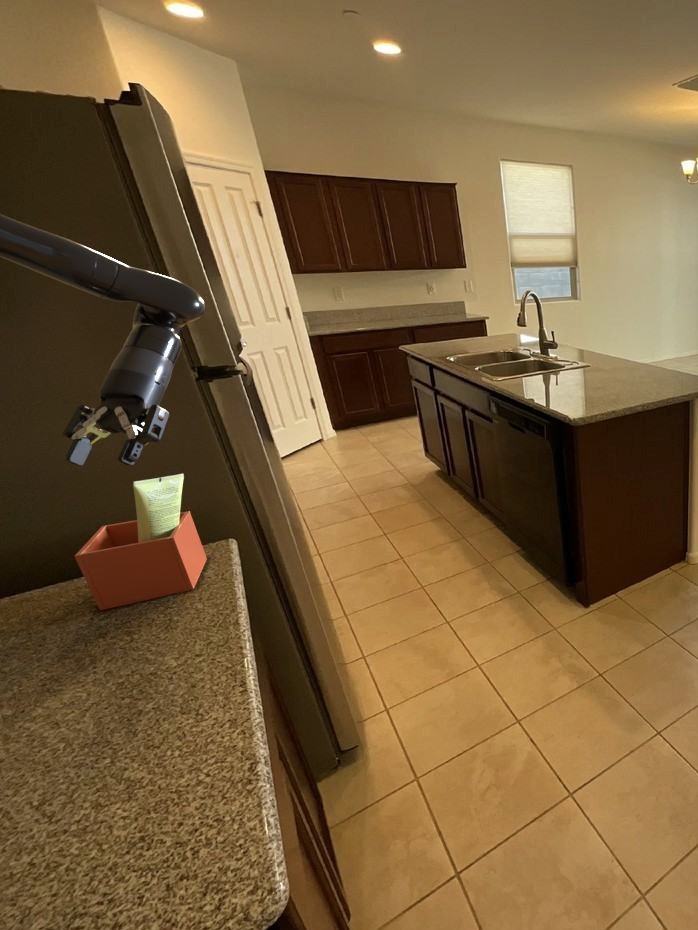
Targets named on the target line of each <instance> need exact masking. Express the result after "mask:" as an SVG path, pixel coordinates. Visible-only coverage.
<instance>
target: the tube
mask: <svg viewBox="0 0 698 930" xmlns="http://www.w3.org/2000/svg"><path fill="white" fill-rule="evenodd" d="M184 479H185V475H184V473H178V474H174V475H167V476H161V477H157V478H156V477H155V478H150V479H143V480H136V481H133V482H132V488H133V493H134V500H135V510H136V520H137V526H138V543H140V542H145V541H151V540H156V539H161V538H167V537H170V535H171V534H172V532H173V531H174V529H175V527H176V526H177V525H179V518H180V513H181V507H182V495H183V486H184V485H183V484H184Z"/></svg>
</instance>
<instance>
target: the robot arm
mask: <svg viewBox="0 0 698 930" xmlns="http://www.w3.org/2000/svg"><path fill="white" fill-rule="evenodd" d="M0 258H2V259H4V260H7V261H9V262H12V263H15V264H17V265H20V266H21V267H24V268H26V269H29V270H31V271H34V272H36V273H38V274H41V275H43V276H46V277H48V278H50V279H53V280H55V281H57V282H60V283H62V284H64V285H68V286H69V287H73V288H75V289H77V290H80V291H82V292H85V293H87V294H90V295H92V296H95V297H98V298H100V299H102V300H105V301H108V302H112V303H115V304H124V303H137V305H136V308H135V310H134V316H133V321H132V329H131V330H130V332H129V334H128V336H127V338H126V340H125V342H124V344H123V346H122V348H121V349H120V351H119V353H118V354H117V355H116V356H115V358H114V360H113V362H112V364H111V366H110V368H109V370H108V372H107V373H106V375H105V378H104V379H103V382H102V384H101V385H100V388H99V389H98V395H99V397H100V400H101V402H100V403H99V404H98V405H97V406H96V407H95V408H94V407H88V406H86V405H84V404H79V405H78V406H77V407H76V409H75V411H74V413H73V415H72V417H71V418H70V420H69V421H68V423H67V425H66V427H65V428H64V430H63V432H62V436H63V437H65V438H67V439H70V440H72V443H71V445H70V447H69V448H68V451H67V452H66V454H65V461H66V462H67V463H69V464H71V465H74V466H83V465H85V462H86V460H87V458H88V456H89V454H90V452H91V450H92V448H93V444H95V443H96V442H98V441H99V440H100V439H105V438H108V437H109V436H110V435H111V434H120V433H123V434H126V435H127V438H128V439H125V441H124V443H123V445H122V448H121V451H120V452H119V454H118V457H117V462H119V463H122V464H123V465H125V466H135V464H136V462H137V461H138V460H139V458H140V456H141V453H142V452H143V449H144V447H145V446H147V445H149V444H150V443H151V442H153V443H159V442H160V441H161V439H162V437H163V435H164V431H165V428H166V426H167V422H168V420H169V417H170V412H169V411H168V410H166V409H165V408H163V407H162V406H160V405H161V401H162V399H163V397H164V394H165V392H166V390H167V388H168V385H169V383H170V381H171V378H172V374H173V369H174V366H175V364H176V363H177V360H178V358H179V355H180V353H181V351H182V340H181V338H180V336H179V333H180V331H182V329H183V327H185V326H186V325H188V324H190V323H192V322H194V321H197V320H198V319H200V318H201V317H202V316H203V315H204V313H205V311H206V304H205V301H204V299H203V297H202V295H201V294H199V293H198V291H196V290H195V289H194V288H192V287H191V286H190V285H188V284H186V283H184V282H182V281H180V280H177V279H175V278H172V277H169V276H166V275H162V274H159V273H155V272H152V271H150V270H146V269H142V268H137V267H133V266H130V265H127V264H125V263H123V262H121V261H118V260H116V259H114V258H112V257H111V256H108V255H106V254H103V253H101V252H99V251H97V250H95V249H92V248H90V247H88V246H85V245H84V244H81V243H78V242H76V241H74V240H71V239H69V238H66V237H62V236H60V235H58V234H55V233H52V232H49V231H46V230H45V229H44V230H43V229H41V228H37V227H35V226H32V225H30V224H27V223H24V222H22V221H18V220H17V219H14V218H11V217H8V216H6V215H4V214H1V213H0ZM95 425H97V426H98V427H99V428H98V427H96V426H95ZM77 428H79V429H78V430H77ZM76 430H77V431H76ZM152 431H153V432H152ZM90 433H92V434H91V435H90V436H88V434H90ZM87 436H88V437H87Z"/></svg>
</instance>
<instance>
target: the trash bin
mask: <svg viewBox="0 0 698 930" xmlns="http://www.w3.org/2000/svg"><path fill="white" fill-rule="evenodd" d="M74 558H75V561H76V563H77V565H78V567H79V569H80V571H81V573H82V576H83V578H84V580H85V581H86V584H87V586H88V588H89V590H90V593H91V595H92V597H93V599H94V601H95V603H96V606H97V607H98V610H99V611H103V610H108V609H113V608H116V607H121V606H125V605H131V604H134V603H139V602H143V601H148V600H152V599H157V598H161V597H166V596H170V595H174V594H179V593H183V592H188V591H192V590H194V589H195V587H196V585H197V582H198V580H199V578H200V576H201V573H202V571H203V569H204V567H205V565H206V562H207V560H208V558H207V555H206V553H205V549H204V546H203V543H202V541H201V539H200V536H199V533H198V531H197V528H196V525H195V522H194V519H193V517H192V514H191V511H190V510H188V511H181V512H180V518H179V525H177V526H176V527H175V529H174V531H173V532H172V534H171V535H170V537H167V538H161V539H156V540H151V541H145V542H140V543H138V526H137V519H136V520H129V521H124V522H119V523H112V524H106V525H101V527H100V528H99V529H98V530H96V532H95V533H94V534H93V535H92V537H90V538H89V540H88V541H86V543H85V544H84V545H83V546H82V547H81V548H80V549H79V550H78V551H77V552H76V554H75V555H74Z"/></svg>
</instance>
